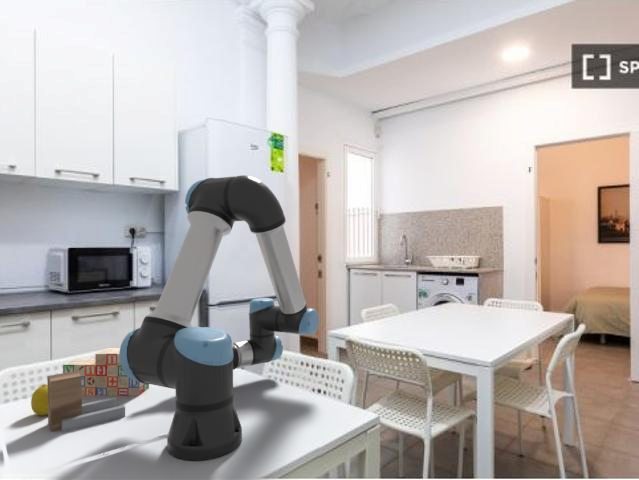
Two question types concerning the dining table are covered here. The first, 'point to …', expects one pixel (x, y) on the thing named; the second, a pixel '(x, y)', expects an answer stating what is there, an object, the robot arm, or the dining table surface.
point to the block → (63, 398)
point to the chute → (94, 414)
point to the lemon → (40, 400)
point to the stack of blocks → (105, 375)
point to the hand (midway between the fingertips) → (151, 372)
